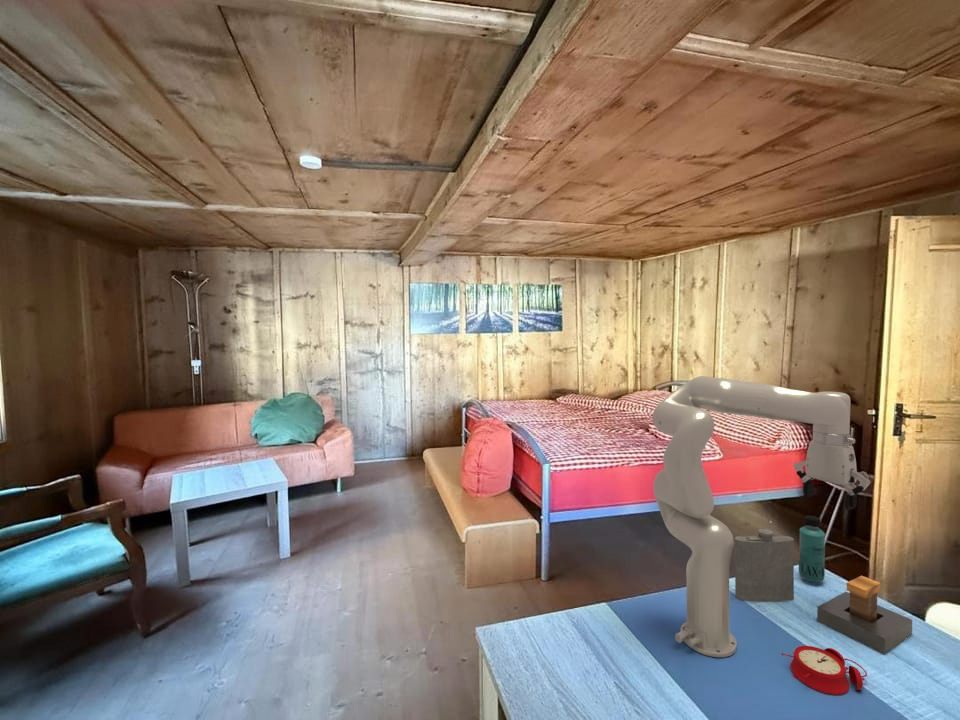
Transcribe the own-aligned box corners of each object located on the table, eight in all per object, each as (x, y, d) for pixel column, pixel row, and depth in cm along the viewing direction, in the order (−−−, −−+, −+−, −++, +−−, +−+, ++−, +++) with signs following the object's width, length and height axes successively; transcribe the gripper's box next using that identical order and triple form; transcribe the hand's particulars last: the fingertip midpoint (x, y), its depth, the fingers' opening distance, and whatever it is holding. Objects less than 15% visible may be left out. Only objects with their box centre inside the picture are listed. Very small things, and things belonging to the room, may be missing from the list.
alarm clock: (774, 646, 103) (837, 630, 103) (780, 670, 104) (843, 655, 103) (807, 680, 93) (877, 663, 93) (813, 708, 93) (884, 691, 93)
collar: (884, 654, 104) (884, 638, 104) (817, 621, 116) (817, 606, 116) (912, 635, 110) (912, 619, 110) (845, 605, 123) (845, 591, 122)
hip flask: (789, 593, 129) (789, 527, 128) (798, 602, 125) (798, 533, 124) (733, 594, 130) (732, 527, 128) (740, 602, 125) (740, 534, 124)
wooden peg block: (865, 637, 110) (865, 590, 109) (846, 627, 114) (846, 582, 113) (879, 628, 113) (880, 583, 112) (861, 619, 116) (861, 575, 116)
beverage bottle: (793, 577, 137) (793, 514, 136) (808, 573, 139) (809, 511, 138) (814, 589, 131) (815, 523, 129) (830, 584, 132) (831, 519, 131)
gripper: (878, 444, 110) (876, 511, 111) (803, 431, 126) (801, 490, 126) (862, 447, 107) (859, 517, 108) (787, 433, 122) (785, 494, 123)
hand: (828, 502), depth 117 cm, fingers open, 9 cm apart
